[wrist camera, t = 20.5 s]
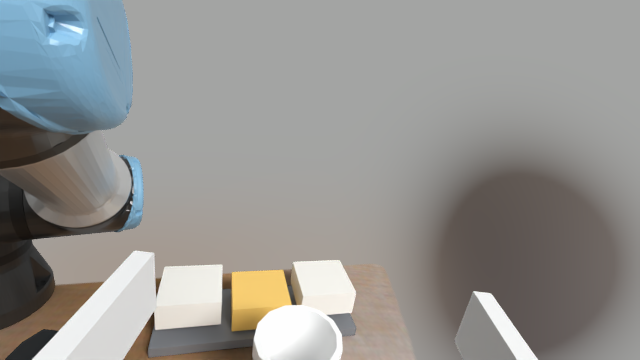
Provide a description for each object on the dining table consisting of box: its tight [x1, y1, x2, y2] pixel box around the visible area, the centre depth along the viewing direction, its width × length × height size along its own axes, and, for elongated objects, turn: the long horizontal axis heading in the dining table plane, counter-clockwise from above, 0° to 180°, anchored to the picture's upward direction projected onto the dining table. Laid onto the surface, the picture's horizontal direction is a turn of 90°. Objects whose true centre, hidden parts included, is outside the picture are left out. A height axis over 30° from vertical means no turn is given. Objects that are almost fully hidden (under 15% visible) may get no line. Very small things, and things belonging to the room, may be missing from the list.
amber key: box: [231, 270, 292, 331], centre depth 52 cm, size 8×8×4 cm
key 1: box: [290, 260, 356, 315], centre depth 54 cm, size 8×8×4 cm
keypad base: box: [148, 285, 356, 357], centre depth 53 cm, size 30×11×2 cm, turn 105°
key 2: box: [154, 265, 222, 330], centre depth 49 cm, size 8×8×4 cm
